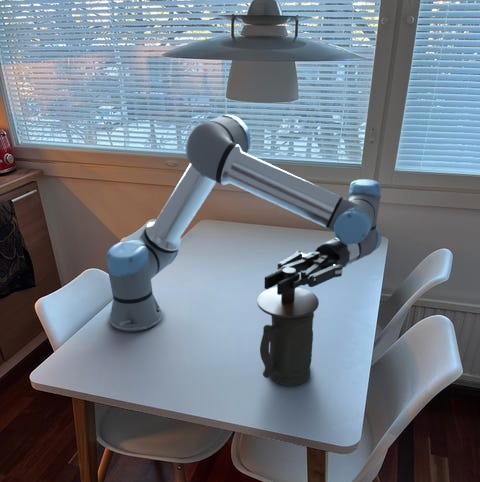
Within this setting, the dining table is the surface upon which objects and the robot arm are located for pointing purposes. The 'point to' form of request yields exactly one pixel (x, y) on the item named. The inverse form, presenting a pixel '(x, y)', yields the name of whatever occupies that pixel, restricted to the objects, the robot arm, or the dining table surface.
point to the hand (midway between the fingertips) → (272, 286)
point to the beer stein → (288, 349)
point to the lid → (288, 300)
